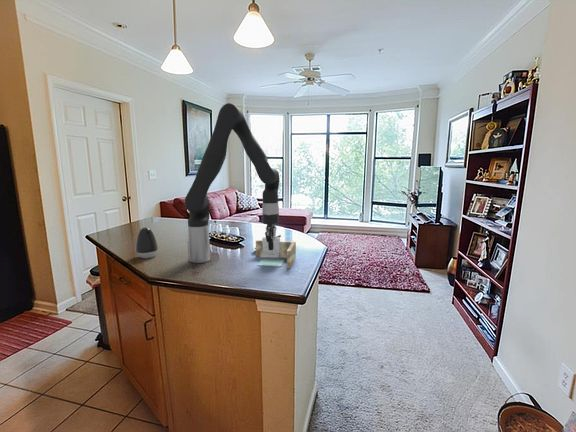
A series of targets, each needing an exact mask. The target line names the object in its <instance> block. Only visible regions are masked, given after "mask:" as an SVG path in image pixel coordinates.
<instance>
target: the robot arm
mask: <svg viewBox="0 0 576 432" xmlns="http://www.w3.org/2000/svg"><path fill="white" fill-rule="evenodd" d="M217 114H218V115H217V118H216V122H215V126H214V129H213V132H212V135H211V137H210V139H209V141H208V144H207V146H206V148H205V151H204V152H203V156H202V158H201V161H200V164H199V166H198V170H197V171H196V176H195V177H194V181H193V183H192V185H191V186H190V188H189V190H188V192H187V193H186V195H185V198H184V207H185V209H186V210H188V212H190V214H189V218H188V220H187V224H188V225H187V227H188V240H189V241H187V257H188V262H191V263H195V264H200V263H201V264H202V263H207V262H209V261H210V260H211V249H210V248H211V247H210V246H211V245H210V229H209V228H210V227H209V221H210V200H209V197H208V191H209V189H210V187H211V185H212V184H213V182H214V181H215V179H216V178H217V177H218V175H219V174H220V172H221V170H222V168H223V165H224V162H225V159H226V158H227V151H228V142H229V137H230V136H231V135H230V134H231V133H232V131H233V132H234V133H235V134H236V135H237V137H238V138H239V140H240V143H241V144H242V147H243V149H244V152H245V153H246V155H247V157H248V159H249V160H250V161H251V163H252V165H253V166H254V169H255V172H256V174H257V176H258V178H259V180H260V181H261V183H263V184H264V190H263V191H262V208H261V210H262V212H261V213H262V215H261V216H262V223H263V224H266V227H265V232H264V235H265V237H266V240H267V242H268V249H269V250H273V238H276V237H277V226H276V224H278V223H279V222H280V208H279V207H280V206H279V186H280V173H279V171H278V170H277V169H276V168H273V167H271V165H270V163H269V160H268V156H267V154H266V153H265V151H264V150H263V149H262V147H261V145H260V144H259V142H258V141H257V139H256V138H255V136H254V135H253V132H252V131H251V129H250V126H249V125H248V123H247V121H246V120H247V119H246V118H245V115H244V112H243V111H242V109H241V108H239V107H238V106H237V105H235V104H234V103H231V102H228V103H224V104H223V105H222V106H221V107H220V109H219V112H218V113H217Z"/></svg>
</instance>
